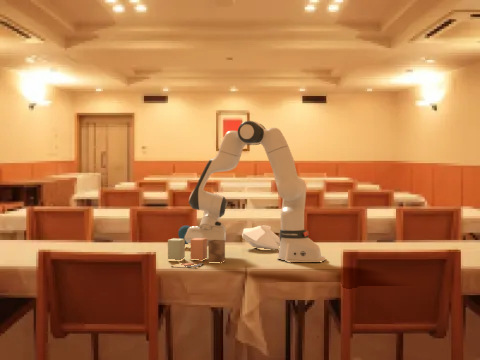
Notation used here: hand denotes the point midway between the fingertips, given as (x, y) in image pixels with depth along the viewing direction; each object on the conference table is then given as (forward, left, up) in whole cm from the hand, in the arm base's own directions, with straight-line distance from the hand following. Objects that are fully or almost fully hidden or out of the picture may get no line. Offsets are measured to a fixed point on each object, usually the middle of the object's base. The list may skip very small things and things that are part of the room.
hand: (201, 249), depth 260 cm
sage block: (+10, +7, -4) cm, 13 cm away
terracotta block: (0, +4, -4) cm, 6 cm away
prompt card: (0, +18, -4) cm, 19 cm away
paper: (-22, -37, -5) cm, 43 cm away
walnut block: (-10, +7, -4) cm, 13 cm away
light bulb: (+20, -30, -5) cm, 36 cm away
